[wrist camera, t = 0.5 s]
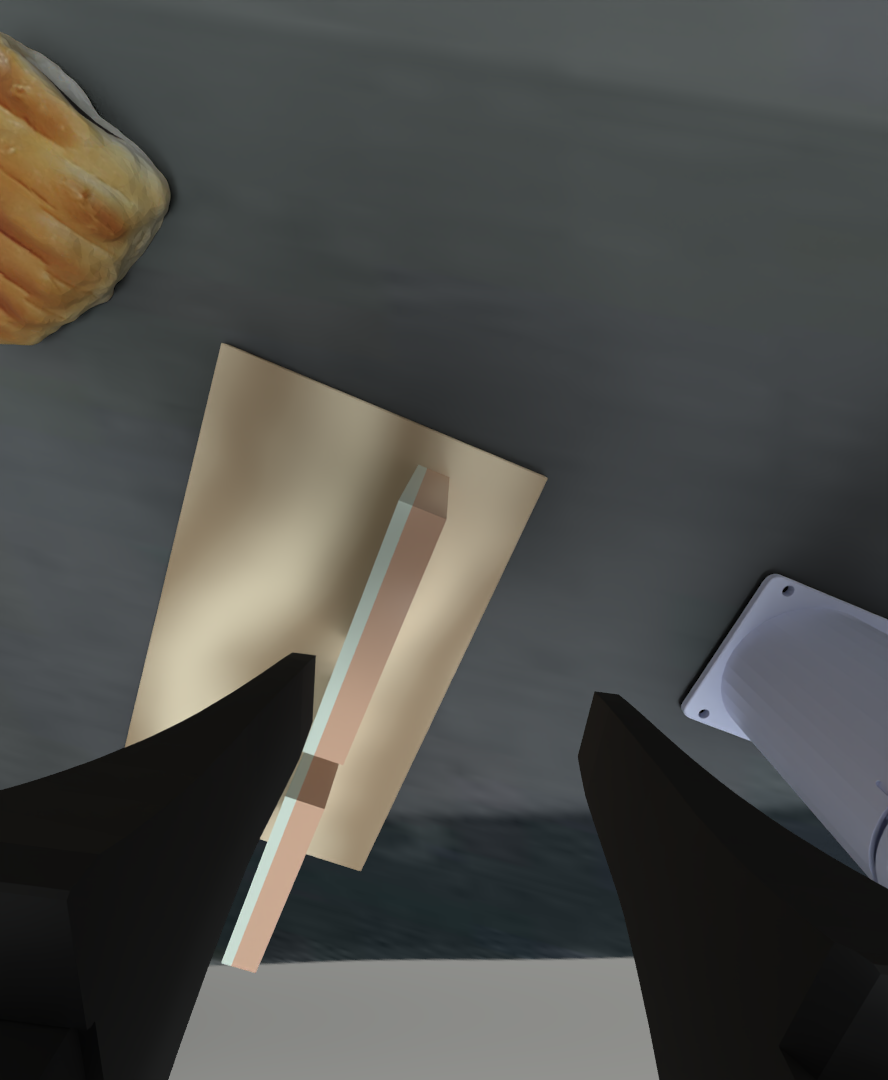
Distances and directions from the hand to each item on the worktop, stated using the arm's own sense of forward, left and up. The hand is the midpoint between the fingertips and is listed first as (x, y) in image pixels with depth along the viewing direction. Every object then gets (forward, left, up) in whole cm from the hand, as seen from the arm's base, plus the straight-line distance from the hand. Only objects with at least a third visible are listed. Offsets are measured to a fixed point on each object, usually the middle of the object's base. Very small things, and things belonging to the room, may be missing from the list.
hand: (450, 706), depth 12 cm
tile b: (+3, +12, -9) cm, 15 cm away
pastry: (+19, -7, -10) cm, 23 cm away
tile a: (+3, +1, -9) cm, 10 cm away
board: (+5, +7, -10) cm, 13 cm away
